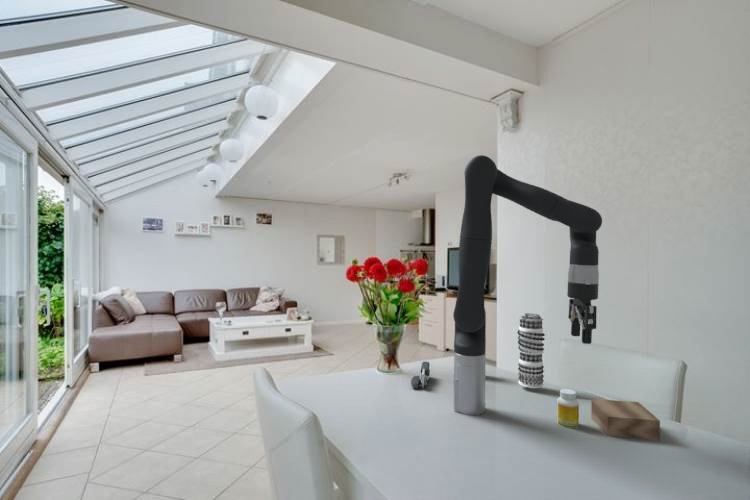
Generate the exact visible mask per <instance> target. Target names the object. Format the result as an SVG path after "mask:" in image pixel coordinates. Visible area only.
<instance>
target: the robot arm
mask: <svg viewBox="0 0 750 500" xmlns="http://www.w3.org/2000/svg"><path fill="white" fill-rule="evenodd" d="M493 195H496V196H499V197H501V198H504V199H507V200H508V201H510V202H513V203H514V204H517V205H519V206H521V207H523V208H525V209H527V210H529V211H531V212H533V213H535V214H537V215H539V216H541V217H544V218H546V219H548V220H550V221H554V222H558V223H561V224H562V225H565V226H567V227H568V228H569V241H570V248H569V249H570V251H569V266H568V267H569V268H568V272H567V292H566V293H567V294H566V295H567V297H568V298H569V302H568V316H567V317H568V319H569V322H570V323H571V327H570V335H571V336H573V337H580V336H581V343H582V344H586V345H590V344H592V340H593V339H592V338H593V337H592V336H593V335H592V333H593V330H594V329H595V330H596V329H597V306H596V305H592V301H595V300H597V299H598V298H599V282H600V281H599V279H600V274H599V273H600V272H599V253H600V252H599V248H598V246H597V231H598V230H600V228H601V227H602V224H603V218H602V215H601V213H599V212H598V211H597V209H594V208H592V207H590V206H587V205H584V204H582V203H579V202H576V201H573V200H569V199H567V198H564V197H563V196H561V195H559V194H556V193H554V192H553V191H550V190H548V189H545V188H543V187H540V186H536V185H535V184H530V183H528V182H524V181H520V180H519V179H516V178H513V177H511V176H509V175H508V174H506V173H504V172H502V171H501V170H499V168H497V165H496V163H495V162H494V160H493V159H492V158H490V157H489V156H486V155H483V154H481V155H480V154H479V155H477V156H474V157H473V158H471V159H470V160H469V161H468V162H467V164H466V166H465V168H464V209H463V214H462V219H461V225H460V226H461V227H460V234H459V244H458V245H459V247H458V287H457V289H458V290H457V296H456V300H455V305H454V309H453V314H452V315H453V316H452V317H453V320H454V341H453V412H455V413H459V414H464V415H469V416H479V415H482V414H484V413H485V412H486V404H487V403H486V350H487V349H486V348H487V347H486V343H487V340H486V339H487V338H486V337H487V336H486V335H487V334H486V327H487V325H486V324H487V323H486V322H487V321H486V320H487V318H486V317H487V316H486V315H487V313H486V309H485V287H486V279H487V275H488V271H489V268H490V260H491V254H492V253H491V252H492V242H493V241H492V240H493V221H492V198H493Z"/></svg>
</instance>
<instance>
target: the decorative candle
mask: <svg viewBox="0 0 750 500" xmlns="http://www.w3.org/2000/svg"><path fill="white" fill-rule="evenodd" d="M518 319H519V328H518V330H517V332H516V334H518V335H517V340H518V341H517V344H518V346H517V347H518V348H517V349H518V352H519V359H518V361H519V362H518V365H517V366H518V367H517V369H518V373H517V376H518V377H517V379H518V381H517V382H518V384H519V385H520V386H522V387H525V388H529V389H541V388H543V387H544V381H545V380H544V376H545V375H544V372H545V370H544V368H545V366H544V361H543V354H544V352H545V351H544V350H545V348H544V346H545V344H544V343H543V341H545V336H546V334H545V333H544V332H543V331H544V328H543V320H544V319H543V318H542V317H541V316H540V315H539V314H537V313H532V312H531V313H529V312H526V313H523V314H522V315H521V316H520V317H518Z"/></svg>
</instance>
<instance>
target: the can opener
mask: <svg viewBox="0 0 750 500" xmlns="http://www.w3.org/2000/svg"><path fill="white" fill-rule="evenodd" d="M430 372H431V370H430V362H429V361H422V362H421V365H420V373H421V374H420V375H414V376H412V378H411V379H410V385H411V388H412V389H419V388H420V386H422V388H427V386H428V385H427V382H428V381H429V380H430Z"/></svg>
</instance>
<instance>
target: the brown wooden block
mask: <svg viewBox="0 0 750 500" xmlns="http://www.w3.org/2000/svg"><path fill="white" fill-rule="evenodd" d="M591 420H592V421H593V422H594V423H595V424H596V425H597V426H598V428H600V429H601V430H602V431H603V433H604V434H605V435H606V436H607V437H616V438H617V437H619V438H629V439H638V440H640V439H641V440H649V441H650V440H651V441H661V439H660V438H661V436H660V433H661V425H660V424H661V420H660V419H659V418H657V417H656V416H655V415H654V414H653V413H652V412H650V411H649V409H647V408H646V407H644V406H643V405H642V404H641V403H640V402H639V401H630V400H629V401H628V400H614V399H600V398H599V399H598V398H597V399H596V398H591Z"/></svg>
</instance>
